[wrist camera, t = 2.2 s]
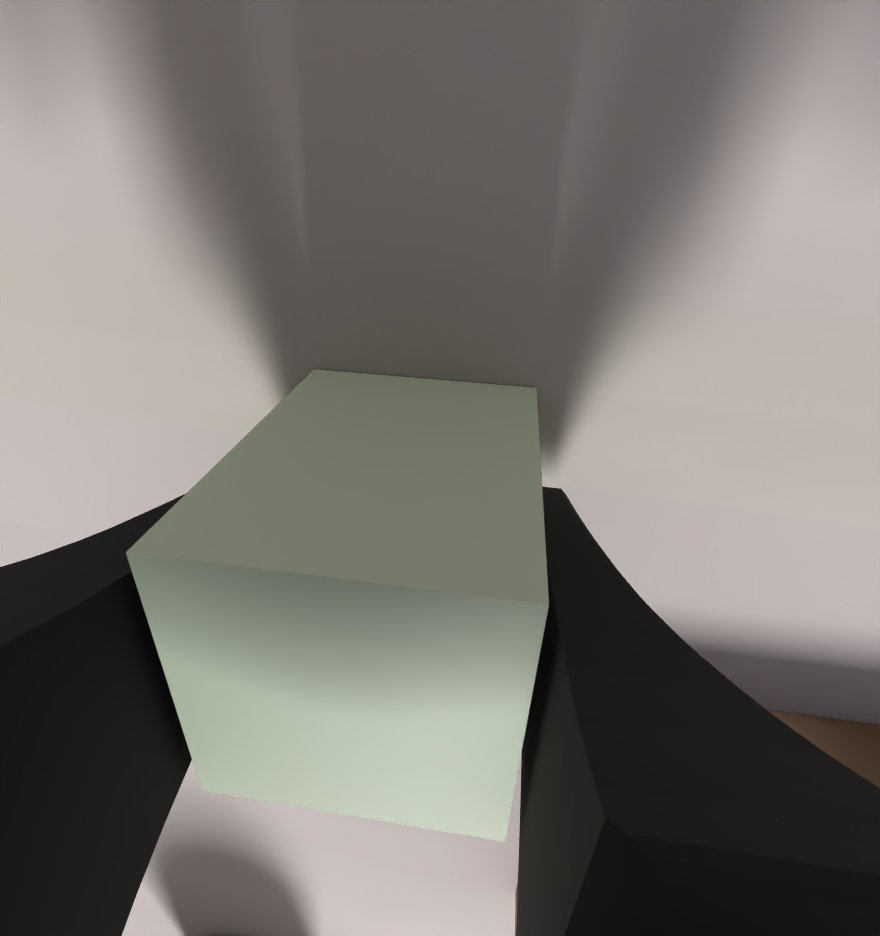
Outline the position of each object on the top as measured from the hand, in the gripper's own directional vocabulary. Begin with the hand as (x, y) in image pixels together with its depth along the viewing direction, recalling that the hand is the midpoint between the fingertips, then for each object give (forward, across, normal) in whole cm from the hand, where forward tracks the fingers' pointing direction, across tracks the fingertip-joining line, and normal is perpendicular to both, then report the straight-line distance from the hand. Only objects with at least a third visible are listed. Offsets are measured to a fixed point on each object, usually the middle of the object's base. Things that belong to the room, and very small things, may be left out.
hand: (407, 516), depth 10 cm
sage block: (+2, 0, 0) cm, 2 cm away
